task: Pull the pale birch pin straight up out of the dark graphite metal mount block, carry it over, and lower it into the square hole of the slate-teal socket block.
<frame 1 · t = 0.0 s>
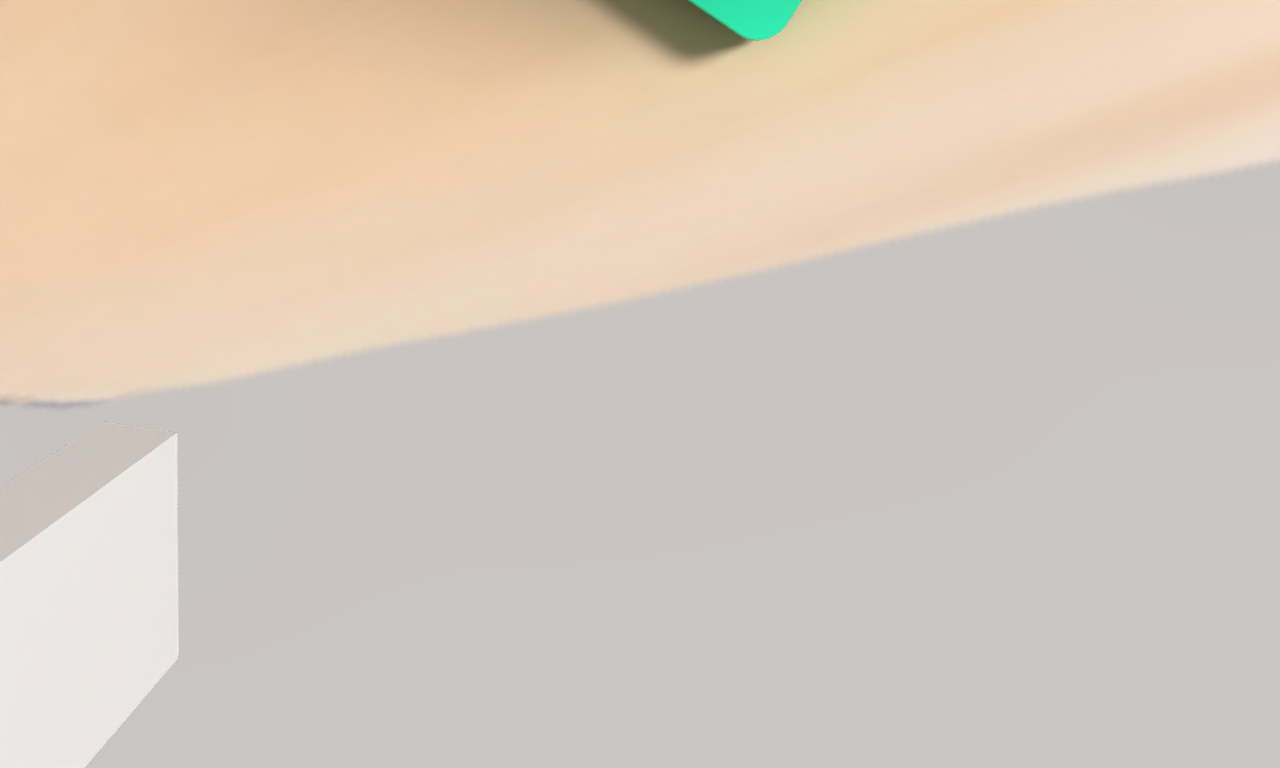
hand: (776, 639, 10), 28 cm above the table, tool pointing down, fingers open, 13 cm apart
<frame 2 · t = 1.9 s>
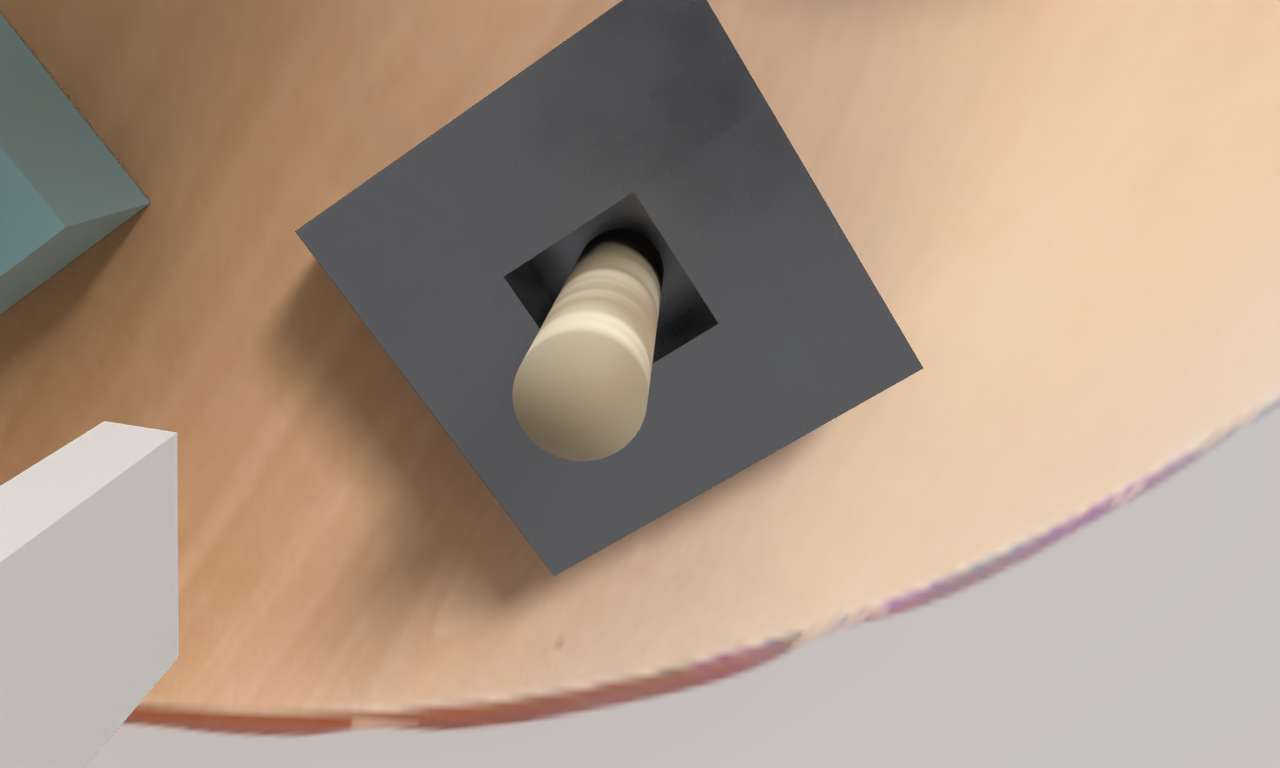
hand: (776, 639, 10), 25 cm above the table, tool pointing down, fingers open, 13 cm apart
mount block: (622, 266, 35), on the table
pin: (620, 272, 34), point 1 cm above the table, touching mount block
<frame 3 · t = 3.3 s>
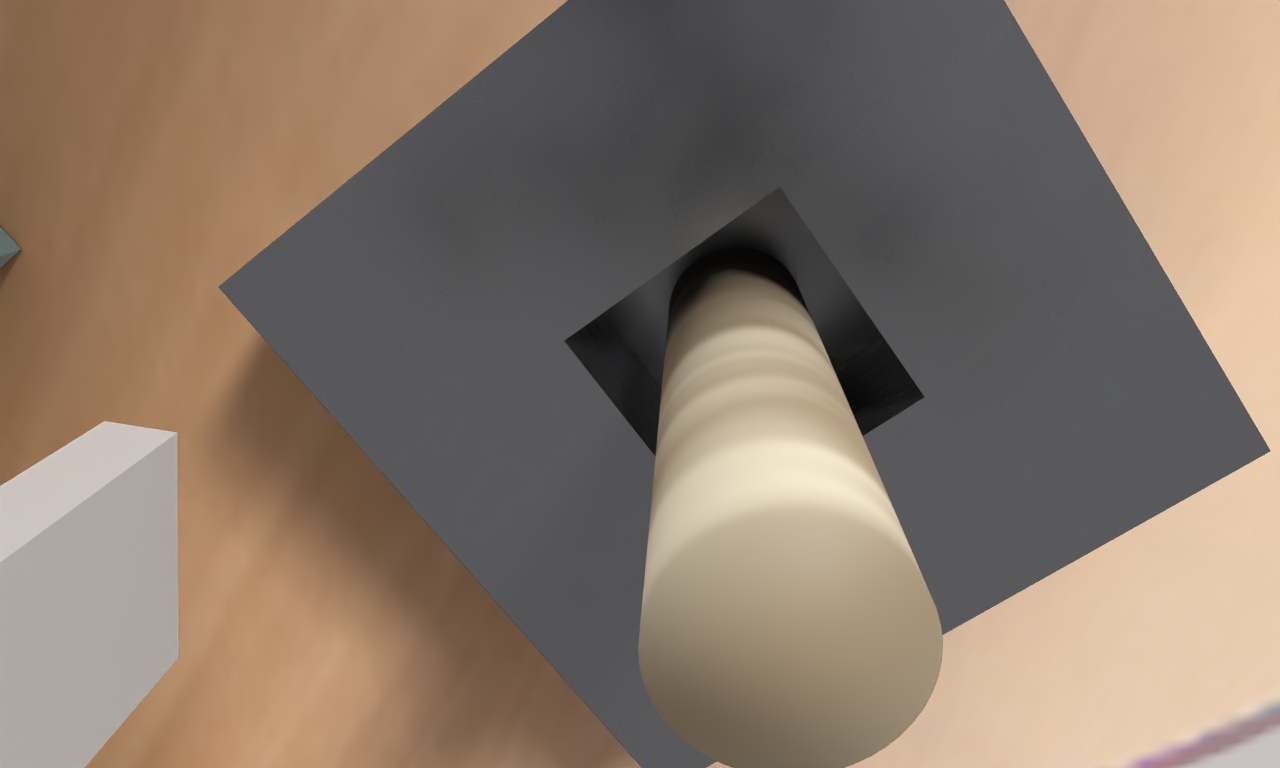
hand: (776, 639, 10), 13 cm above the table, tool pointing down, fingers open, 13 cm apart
mount block: (733, 301, 23), on the table
pin: (735, 313, 22), point 1 cm above the table, touching mount block
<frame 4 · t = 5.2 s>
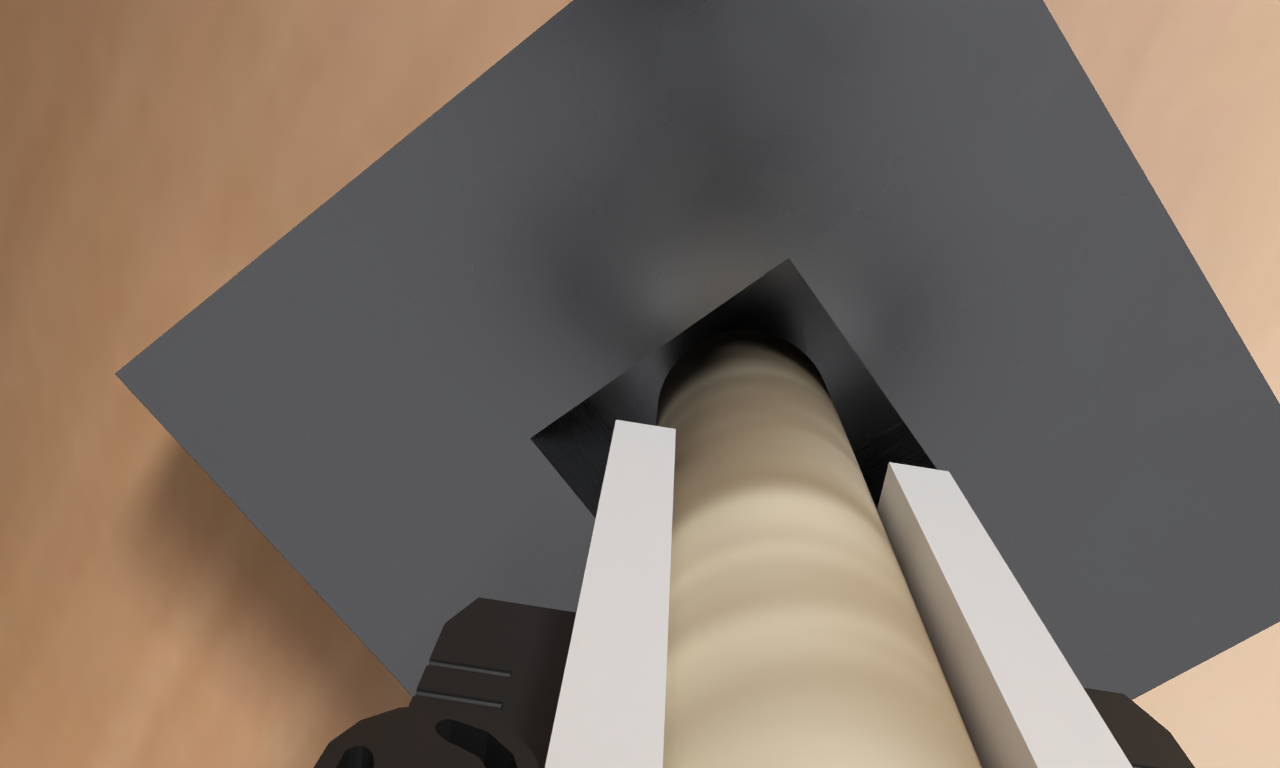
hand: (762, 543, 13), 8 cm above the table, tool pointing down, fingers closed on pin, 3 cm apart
mount block: (732, 374, 20), on the table
pin: (743, 413, 17), point 3 cm above the table, touching gripper
when the fingers open (8 cm above the table, at t = 11.2 s): pin drops 3 cm, resting on socket block.
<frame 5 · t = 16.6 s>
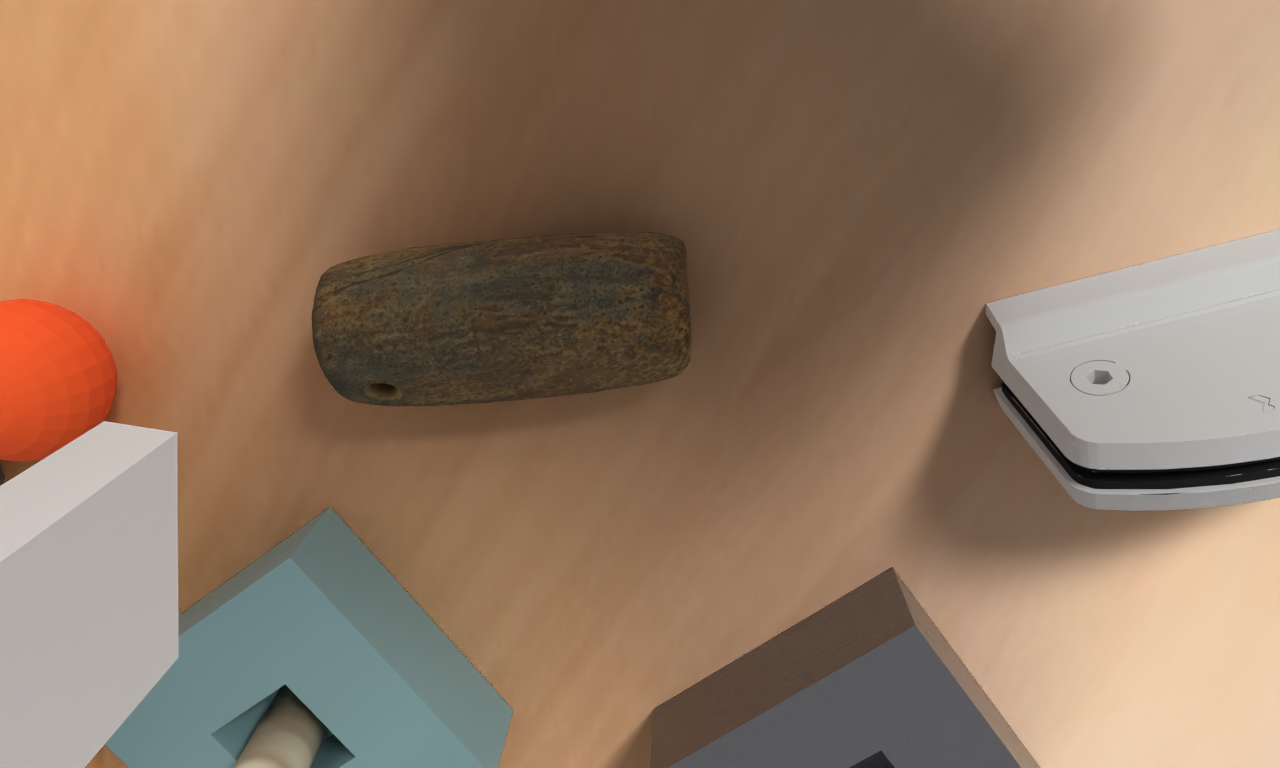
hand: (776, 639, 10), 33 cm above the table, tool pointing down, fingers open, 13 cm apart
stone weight: (524, 300, 44), on the table
mount block: (847, 738, 50), on the table
clementine: (64, 352, 45), on the table
grey rounded slab: (1182, 338, 43), on the table
socket block: (321, 680, 50), on the table
pin: (312, 693, 49), point 1 cm above the table, touching socket block
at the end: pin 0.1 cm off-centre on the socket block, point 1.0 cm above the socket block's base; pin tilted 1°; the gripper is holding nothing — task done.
